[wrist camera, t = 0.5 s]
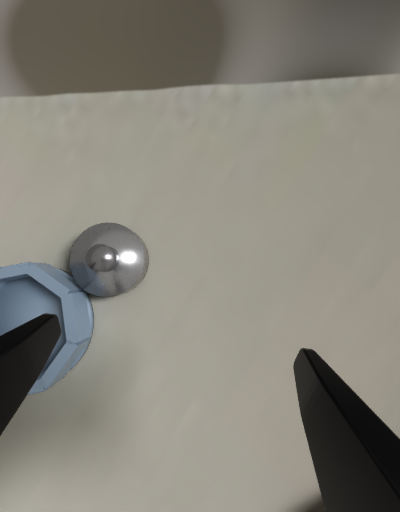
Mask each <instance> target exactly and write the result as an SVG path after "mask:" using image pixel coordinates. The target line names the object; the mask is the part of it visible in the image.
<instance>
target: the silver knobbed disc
mask: <svg viewBox="0 0 400 512" xmlns="http://www.w3.org/2000/svg"><path fill="white" fill-rule="evenodd" d="M148 264H149V256H148V251H147V248H146V246H145V244H144V242H143V241H142V239H141V238H140V237H139V236H138V235H136V234H135V233H134V232H132V231H131V230H130V229H128V228H126V227H125V226H122V225H120V224H116V223H101V224H97V225H94V226H92V227H90V228H88V229H87V230H85V231H84V232H83V233H82V234H81V235H80V236H79V237H78V238H77V240H76V241H75V243H74V245H73V247H72V250H71V253H70V269H71V273H72V276H73V277H74V279H75V281H76V282H77V284H78V285H79V286H80V287H81V288H82V289H83V290H85V291H86V292H88V293H90V294H93V295H96V296H101V297H110V296H116V295H121V294H124V293H127V292H129V291H131V290H133V289H134V288H135V287H137V286H138V285H139V284H140V282H141V281H142V280H143V278H144V277H145V275H146V272H147V269H148Z"/></svg>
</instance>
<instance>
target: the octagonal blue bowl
mask: <svg viewBox="0 0 400 512" xmlns="http://www.w3.org/2000/svg"><path fill="white" fill-rule="evenodd" d="M44 313H50V314H56V315H57V316H58V319H59V323H60V326H61V335H60V338H59V340H58V342H57V343H56V345H55V347H54V349H53V351H52V353H51V355H50V357H49V359H48V361H47V362H46V364H45V366H44V368H43V370H42V372H41V374H40V375H39V377H38V379H37V380H36V382H35V384H34V385H33V387H32V388H31V390H30V391H29V393H28V394H27V395H29V394H34V393H39V392H44V391H45V390H47V389H48V388H50V387H51V386H52V385H54V384H55V383H57V382H58V381H59V380H61V379H62V378H64V376H65V375H66V373H67V372H68V371H69V370H71V369H72V368H73V367H74V366H75V365H76V364H77V363H78V362H79V360H80V359H81V358H82V357H83V355H84V353H85V352H86V350H87V348H88V346H89V343H90V341H91V337H92V333H93V328H94V314H93V308H92V304H91V301H90V298H89V296H88V294H87V292H86V291H85V290H83V289H82V288H81V287H80V286H79V285H78V284H77V282H76V281H75V279H74V277H73V276H72V275H70V274H69V273H67V272H65V271H63V270H61V269H58V268H55V267H52V266H51V265H49V264H42V263H32V262H27V263H21V264H16V265H11V266H6V267H0V335H2V334H4V333H6V332H8V331H10V330H12V329H14V328H16V327H18V326H20V325H22V324H24V323H26V322H28V321H30V320H32V319H34V318H36V317H38V316H40V315H42V314H44Z"/></svg>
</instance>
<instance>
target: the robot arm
mask: <svg viewBox="0 0 400 512" xmlns="http://www.w3.org/2000/svg"><path fill="white" fill-rule="evenodd" d="M60 335H61V326H60V323H59V319H58V316H57V315H56V314H50V313H44V314H42V315H40V316H38V317H36V318H34V319H32V320H30V321H28V322H26V323H24V324H22V325H20V326H18V327H16V328H14V329H12V330H10V331H8V332H6V333H4V334H2V335H0V436H1V434H2V433H3V431H4V429H5V428H6V426H7V425H8V423H9V422H10V420H11V419H12V417H13V416H14V414H15V413H16V411H17V410H18V408H19V407H20V405H21V403H22V402H23V400H24V399H25V397H26V396H27V394H28V393H29V391H30V390H31V388H32V387H33V385H34V384H35V382H36V380H37V379H38V377H39V375H40V374H41V372H42V370H43V368H44V366H45V364H46V362H47V361H48V359H49V357H50V355H51V353H52V351H53V349H54V347H55V345H56V343H57V342H58V340H59V338H60ZM293 367H294V375H295V381H296V388H297V394H298V401H299V407H300V413H301V417H302V421H303V425H304V429H305V433H306V437H307V441H308V445H309V449H310V453H311V456H312V460H313V464H314V468H315V472H316V476H317V480H318V484H319V487H320V491H321V495H322V499H323V503H324V507H325V511H326V512H400V439H399V438H398V437H397V436H396V435H395V434H394V432H393V431H392V430H391V429H390V428H389V427H388V426H387V425H386V424H385V423H384V422H383V421H382V420H381V419H380V418H379V417H378V416H377V415H376V414H375V413H374V412H373V411H372V410H371V409H370V408H369V407H368V406H367V405H366V404H365V402H364V401H363V400H362V399H361V398H360V397H359V396H358V395H357V394H356V393H355V392H354V391H353V390H352V389H351V388H350V387H349V386H348V385H347V384H346V383H345V382H344V381H343V380H342V379H341V378H340V377H339V376H338V375H337V374H336V372H335V371H334V370H333V369H332V368H331V367H330V366H329V365H328V364H327V363H326V362H325V361H324V360H323V359H322V358H321V357H320V356H319V355H318V354H317V353H316V352H315V351H314V350H312V349H306V348H302V349H300V351H299V353H298V355H297V357H296V359H295V361H294V366H293Z"/></svg>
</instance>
